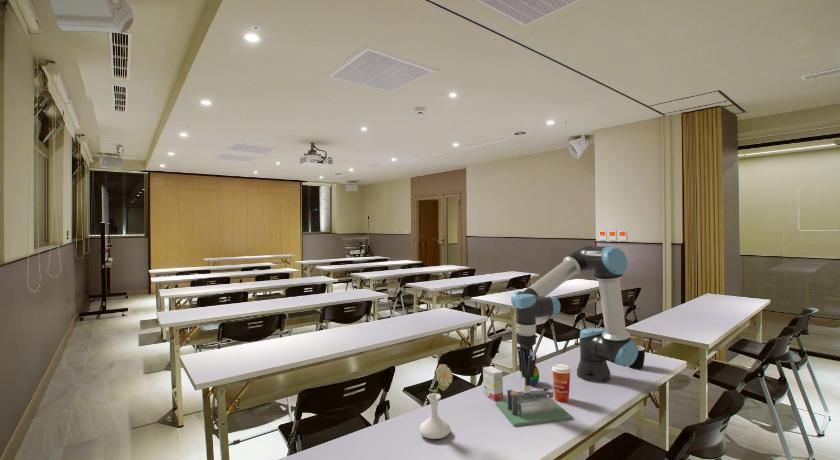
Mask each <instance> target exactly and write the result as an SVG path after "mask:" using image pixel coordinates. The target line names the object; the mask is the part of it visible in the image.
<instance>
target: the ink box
mask: <svg viewBox="0 0 840 460" xmlns="http://www.w3.org/2000/svg"><path fill="white" fill-rule="evenodd" d="M482 377H483V378H482V381H483V384H482V385H483V387H482V388H483V394H484V395H485V396H486V397H487V398H489V399H490V400H492V401H494V402H495V401H496V402H497V401H499V400H503V399H504V388H503V387H504V385H503V383H504V381H503V380H504V379H503V377H504V376H503V372H502V371H501V370H499V369H497V368H496V367H494V366H492V365H489V366H484V367H482Z"/></svg>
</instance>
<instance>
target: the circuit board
mask: <svg viewBox="0 0 840 460" xmlns="http://www.w3.org/2000/svg"><path fill="white" fill-rule="evenodd" d="M554 403H555V413H551V414H543V415H535V416H527V417H521V416H520V415H519V414H516V415H513V414H512V409H510V410H508V407H507V400H506V401H505V400H504V401H498V402H497V401H496V402H495V406H496V407H497V409H499V411H500V412H501V413H502V414H503V416H505V418H506V419H507V421H508V422H509V423H510V424H511V425H512V426H513V427H520V426H529V425H535V424H536V425H537V424H544V423H545V424H546V423H551V422H560V421H561V422H562V421H567V420H573V415H572V414H570V413H569V412H568V411H567V410H565V409H564V408H563V407H562V406H561V405H559V404H558V403H557V402H556V400H554Z"/></svg>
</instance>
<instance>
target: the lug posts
mask: <svg viewBox="0 0 840 460" xmlns="http://www.w3.org/2000/svg"><path fill="white" fill-rule="evenodd" d="M510 391H514V390H513V389H507V390H506V395H507V397H506V398H507V400H506V401H507V407H508V410H510V409H512V414H513V415H516V414H518V402H517V394H516V395H512V396H511V395H510Z"/></svg>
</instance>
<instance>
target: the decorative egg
mask: <svg viewBox="0 0 840 460" xmlns="http://www.w3.org/2000/svg"><path fill="white" fill-rule="evenodd" d="M539 371H540V370H539V368H538V367H537V365H536V364H535V370H534V377H531V386H536V385H537V384H538V382H539V380H540V372H539ZM520 373H521V374H520V376H521V379H522V381H523V375H522V372H520Z"/></svg>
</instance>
